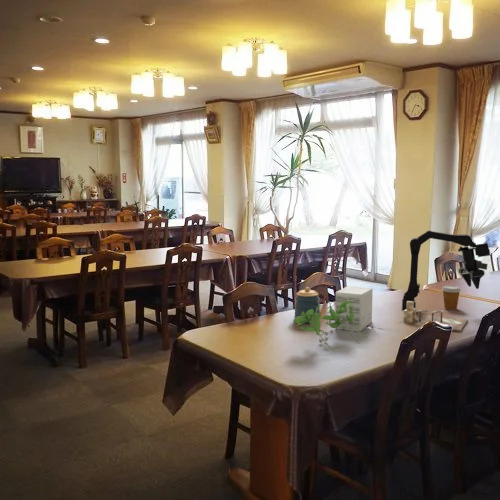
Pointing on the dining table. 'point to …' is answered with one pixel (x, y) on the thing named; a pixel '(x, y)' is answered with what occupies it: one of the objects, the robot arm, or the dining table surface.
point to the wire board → (422, 319)
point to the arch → (409, 312)
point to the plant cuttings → (334, 316)
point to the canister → (306, 302)
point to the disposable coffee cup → (451, 297)
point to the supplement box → (355, 307)
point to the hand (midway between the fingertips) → (473, 287)
